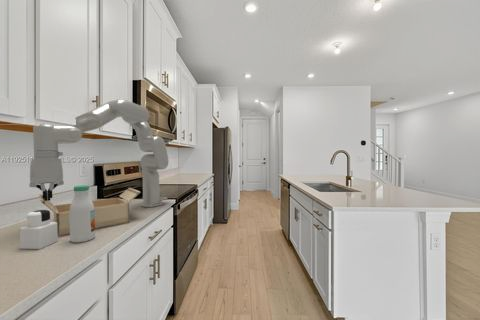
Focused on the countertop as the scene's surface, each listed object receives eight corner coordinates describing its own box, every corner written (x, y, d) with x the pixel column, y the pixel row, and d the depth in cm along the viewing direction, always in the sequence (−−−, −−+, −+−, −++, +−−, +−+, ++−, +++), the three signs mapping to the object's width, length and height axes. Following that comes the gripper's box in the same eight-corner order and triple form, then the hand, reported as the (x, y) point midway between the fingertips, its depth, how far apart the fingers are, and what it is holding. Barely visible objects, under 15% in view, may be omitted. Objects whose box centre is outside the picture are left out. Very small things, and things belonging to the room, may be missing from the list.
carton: (118, 214, 118) (117, 197, 118) (129, 222, 103) (129, 203, 103) (53, 225, 100) (53, 205, 100) (57, 237, 86) (56, 213, 86)
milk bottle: (85, 243, 80) (84, 187, 79) (64, 243, 80) (62, 187, 79) (99, 235, 88) (98, 184, 87) (80, 235, 88) (78, 184, 87)
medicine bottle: (39, 240, 82) (38, 208, 82) (58, 241, 82) (57, 208, 82) (19, 249, 75) (18, 213, 75) (39, 249, 75) (38, 213, 75)
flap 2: (119, 197, 117) (130, 188, 120) (129, 202, 105) (140, 192, 108) (118, 196, 117) (129, 187, 120) (128, 201, 104) (139, 191, 108)
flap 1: (52, 204, 99) (40, 193, 96) (55, 211, 87) (41, 199, 84) (51, 205, 99) (39, 194, 96) (53, 212, 86) (39, 200, 84)
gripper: (68, 155, 99) (69, 196, 99) (21, 155, 89) (22, 201, 89) (70, 155, 93) (71, 199, 94) (20, 155, 83) (21, 204, 83)
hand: (47, 200), depth 91 cm, fingers closed
